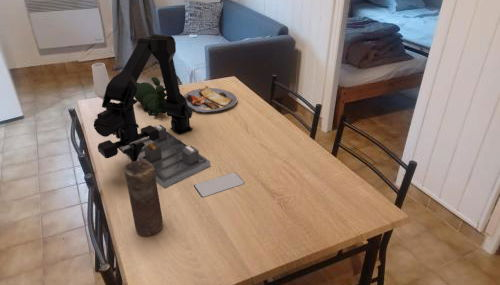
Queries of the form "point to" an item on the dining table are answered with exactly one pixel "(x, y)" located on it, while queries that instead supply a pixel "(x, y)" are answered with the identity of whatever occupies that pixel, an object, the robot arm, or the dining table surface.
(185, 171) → the panel
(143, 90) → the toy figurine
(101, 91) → the champagne flute
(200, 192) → the smartphone
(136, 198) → the candle
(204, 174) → the dining table surface
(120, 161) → the dining table surface
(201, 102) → the food plate
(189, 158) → the breaker
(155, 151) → the breaker mid
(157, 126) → the block
